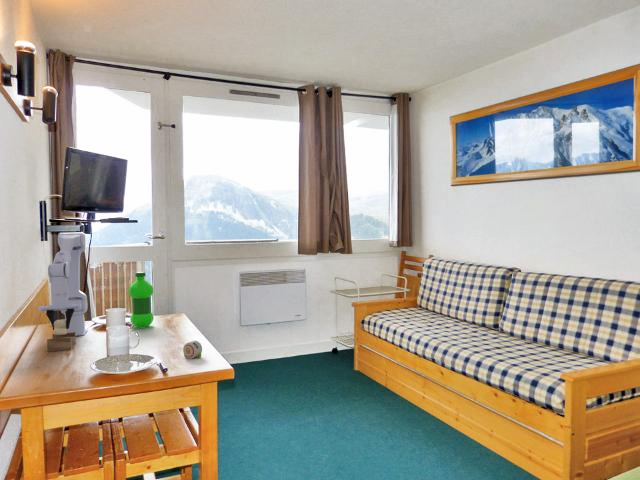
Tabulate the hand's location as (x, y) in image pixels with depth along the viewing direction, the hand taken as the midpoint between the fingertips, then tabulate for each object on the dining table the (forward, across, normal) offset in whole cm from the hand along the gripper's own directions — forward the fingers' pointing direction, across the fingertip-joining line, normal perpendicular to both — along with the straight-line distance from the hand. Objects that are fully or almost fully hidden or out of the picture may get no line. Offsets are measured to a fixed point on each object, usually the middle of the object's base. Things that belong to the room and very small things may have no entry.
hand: (61, 328), depth 191 cm
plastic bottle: (+7, +28, +27) cm, 40 cm away
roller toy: (+8, +48, -33) cm, 59 cm away
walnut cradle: (+7, 0, 0) cm, 7 cm away
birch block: (+2, 0, 0) cm, 2 cm away
